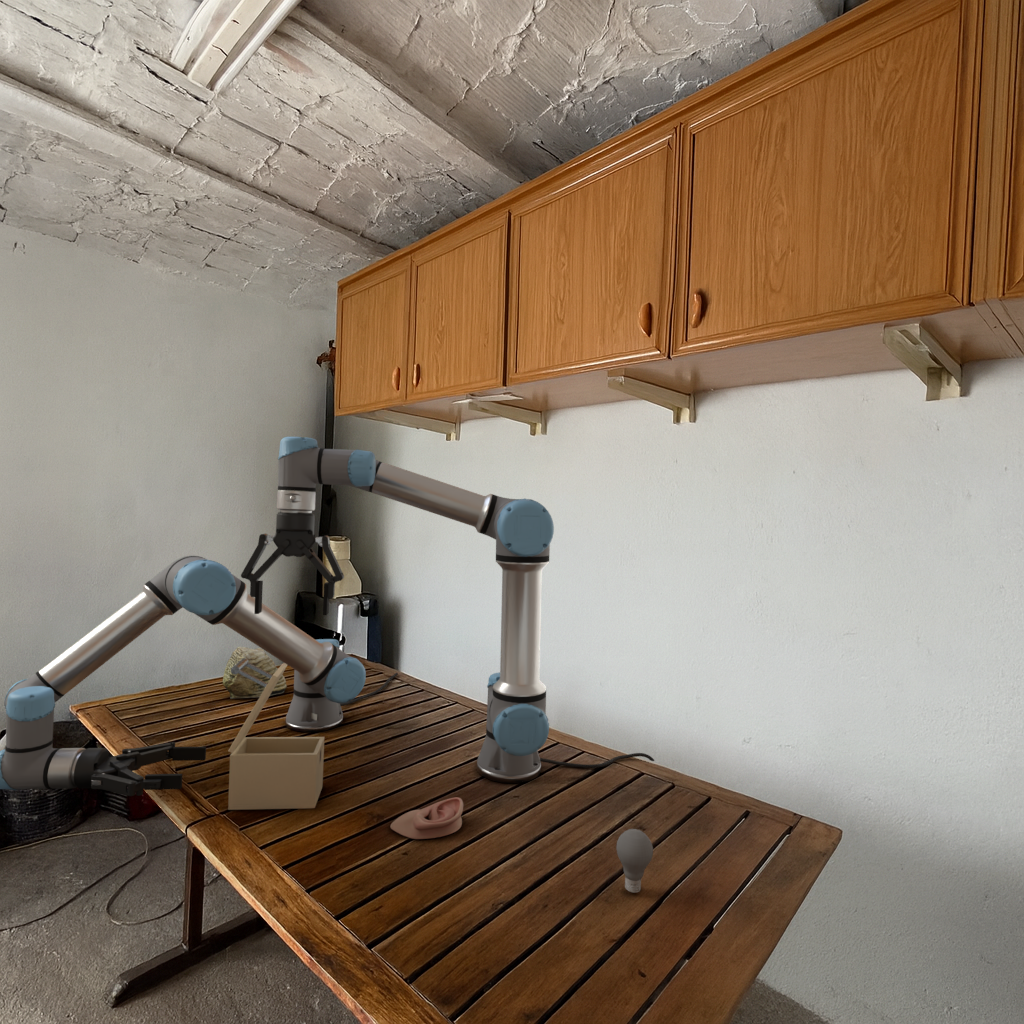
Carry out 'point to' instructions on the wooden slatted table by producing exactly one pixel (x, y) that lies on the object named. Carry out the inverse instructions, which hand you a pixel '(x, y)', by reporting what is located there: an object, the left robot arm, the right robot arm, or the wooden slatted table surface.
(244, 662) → the lid
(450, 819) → the anatomical model
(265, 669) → the fossil
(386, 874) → the wooden slatted table surface
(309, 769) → the chest
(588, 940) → the wooden slatted table surface
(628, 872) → the light bulb
